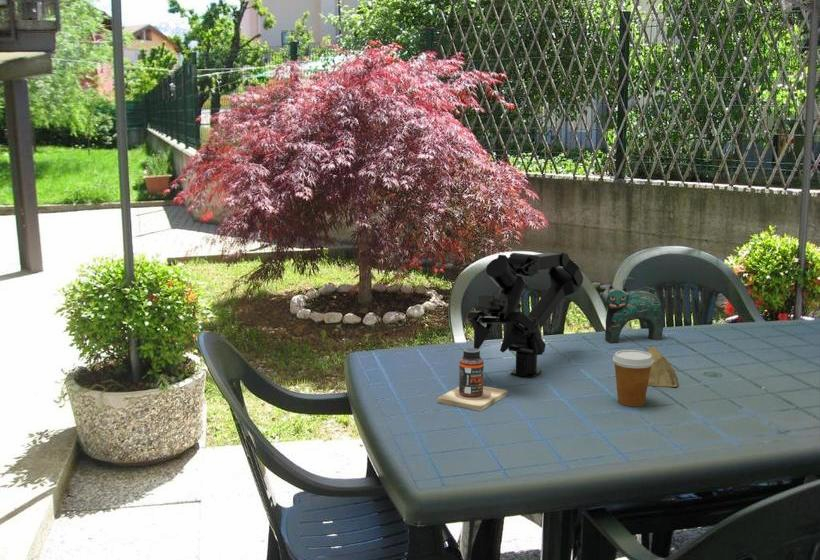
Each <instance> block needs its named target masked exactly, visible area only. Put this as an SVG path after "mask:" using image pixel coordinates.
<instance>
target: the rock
mask: <svg viewBox="0 0 820 560" xmlns="http://www.w3.org/2000/svg"><path fill="white" fill-rule="evenodd" d="M646 352H647V353H649V354H651V355H652V359H653V363H652V366H651V370H650V375H649V381H648V386H650V387H664V388H665V387H668V388H669V387H670V388H674V387H675V388H677V387H678V386H679V379H678V376H677V373H676V371H675V369H674V368H673V367H672V365H671V363H670V362H669V361H668V359H667V358H666V357H665V356H664V355H663V354H662V353H661V352H660V351H659V350H658V348H656V347H653V346H649V347H648V350H647V351H646Z"/></svg>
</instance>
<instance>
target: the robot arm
mask: <svg viewBox="0 0 820 560" xmlns="http://www.w3.org/2000/svg"><path fill="white" fill-rule="evenodd" d="M546 269H548V271H547V274H548V276H549V284H550V285H549V287H548V288H547V289H546V290H545V292H544V293H543V294H542V296H541V298H540V299H539V300H538V301H537V303H536V304H535V305H534V307H533V308H532V309H531V311H530V312H529V313H528V314H526V313H525V312H523V311H517V310H520V309H522V305H521V304H520V301H521V299H522V296H523V293H524V291H529V290H530V286H529V284H528V280H527V279H524V278H523V277H522V276H524V277H530V278H531V277H533V276H535V275H537V274H539V272H540V271H541V270H546ZM485 271H486V275H487V276H488V277H489V278H490V279H491V280H492V282H494V284H495V285H496V286H497V287H498V288H500V290H499V291H498V292H495V293H494V295H485V294H484V295H483V294H482V295H477V300H476V301H477V302H476V308H477V309H484V310H485V311H482V310H471V311H469V312H468V314H467V317H466V320H467V321H469V324H470V325H472V327H473V334H474V336H473V348H476V349H479V350H480V348H481V347H482V345H483V344H484V342H485V340H486V338H487V337H488V336H489V334H490V333H491V330H490V329H491V328H492V326H493V325H505V329H506V330H505V333H504V336H503V339H502V342H501V345H500V350H499V351H500V352H501V353H505V352H506V351H507V350H508V351H509V352H511V351H513V352H515V369H514V370H512V371H510V375H513V376H518V377H525V378H534V377H536V376H538V375H539V374H541V373H542V371H543V370H541V369H538V356H542V355H543V354H544V353H545V351H546V343H545V341H544V340H543V339H542V328H543V327H544V325H545V324H546V322H547V321H548V319H550V317H551V316H552V314H553V313H554V312H555V310H556V309H557V308H558V307H559V305H560V303H561V302H562V301H563V300H564V298H565V297H568V296H570V295H572V294H575V292H576V291H578V290H579V289H580V287H581V286H582V285H583V282H584V275H583V273H582V271H581V269H580V267H579V266H578V265H577V264H576V263H575V262H574V261H573V260H571V258H570V256H569V254H568V253H566V252H563V251H555V250H554V251H553V250H552V251H549V252H542V253H539V254H528V253H521V252H520V253H519V252H512V253H511V254H510V255H509V256H508V257H507V255H504V254H498V255H497V258H494V259H493V260H491V261H490V262H489V263H488V264H487V265H486V269H485ZM488 314H489V316H488Z"/></svg>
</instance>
